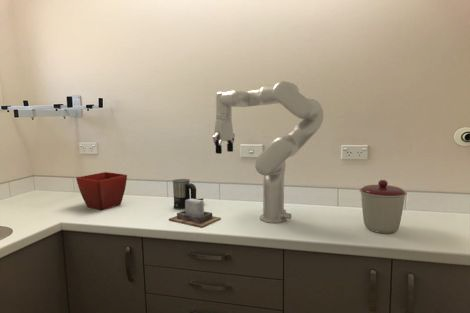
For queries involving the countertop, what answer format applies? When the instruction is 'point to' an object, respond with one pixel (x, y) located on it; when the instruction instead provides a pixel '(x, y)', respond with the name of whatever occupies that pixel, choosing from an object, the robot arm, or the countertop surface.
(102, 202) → the plant pot
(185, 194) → the milk frother
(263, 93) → the robot arm
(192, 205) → the medicine box
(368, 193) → the canister
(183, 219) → the holder
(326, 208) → the countertop surface
